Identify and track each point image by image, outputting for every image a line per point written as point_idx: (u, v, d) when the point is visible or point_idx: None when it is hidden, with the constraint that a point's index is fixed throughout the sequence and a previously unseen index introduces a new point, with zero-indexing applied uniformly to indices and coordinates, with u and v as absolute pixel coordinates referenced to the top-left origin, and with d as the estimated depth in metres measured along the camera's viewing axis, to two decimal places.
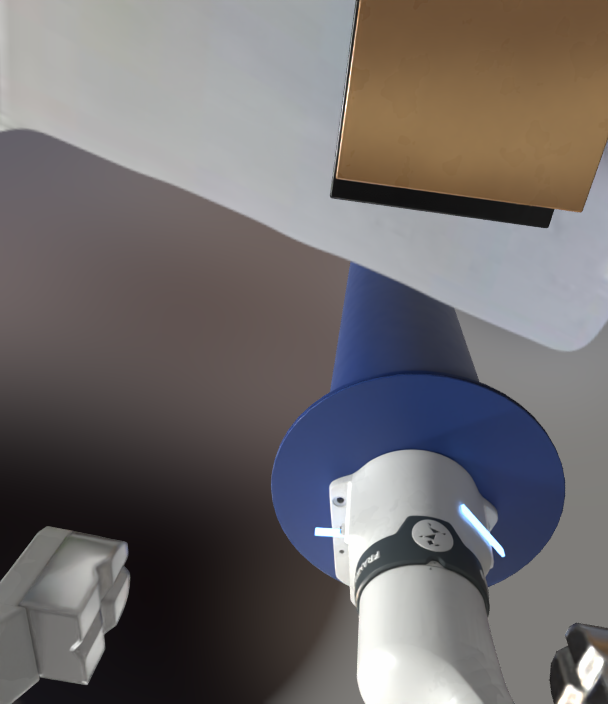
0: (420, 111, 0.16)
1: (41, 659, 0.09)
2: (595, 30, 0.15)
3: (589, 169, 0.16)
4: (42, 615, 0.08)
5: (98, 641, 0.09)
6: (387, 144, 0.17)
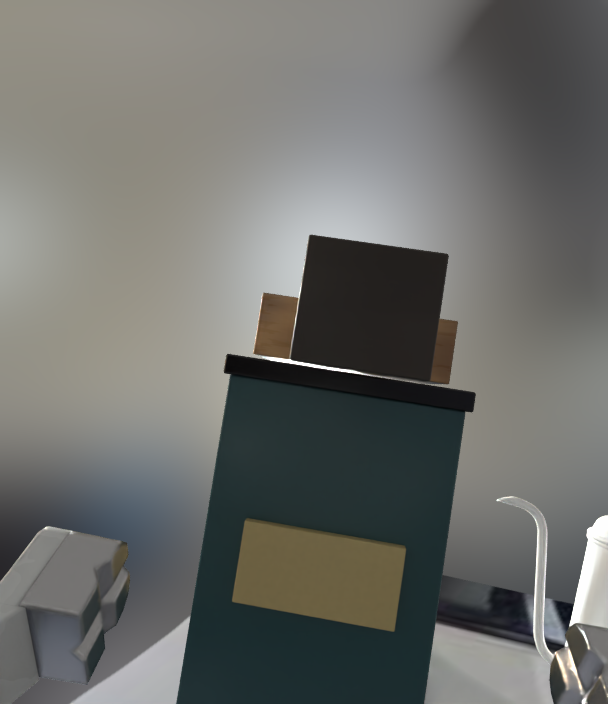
0: None
1: (41, 659, 0.09)
2: None
3: None
4: (42, 615, 0.08)
5: (98, 641, 0.09)
6: None
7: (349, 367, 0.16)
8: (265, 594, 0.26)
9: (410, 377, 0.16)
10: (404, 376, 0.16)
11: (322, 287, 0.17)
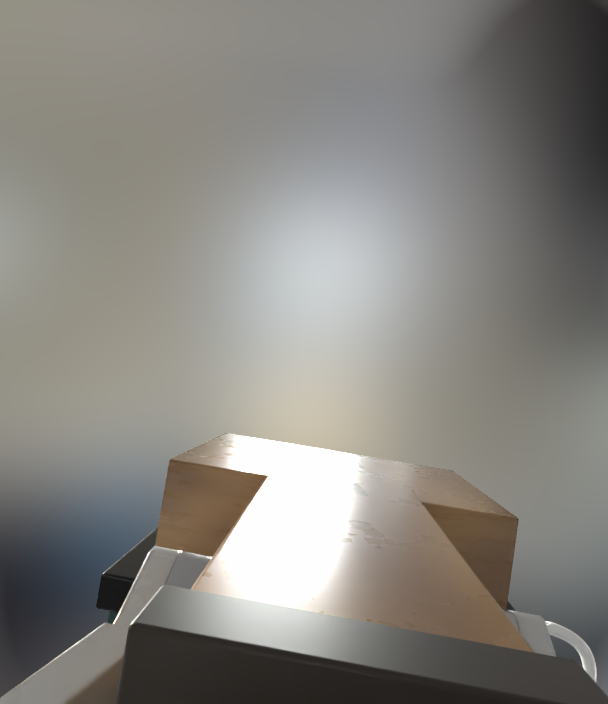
0: (270, 447, 0.21)
1: None
2: None
3: (215, 465, 0.16)
4: None
5: None
6: (247, 441, 0.22)
7: None
8: None
9: None
10: None
11: None
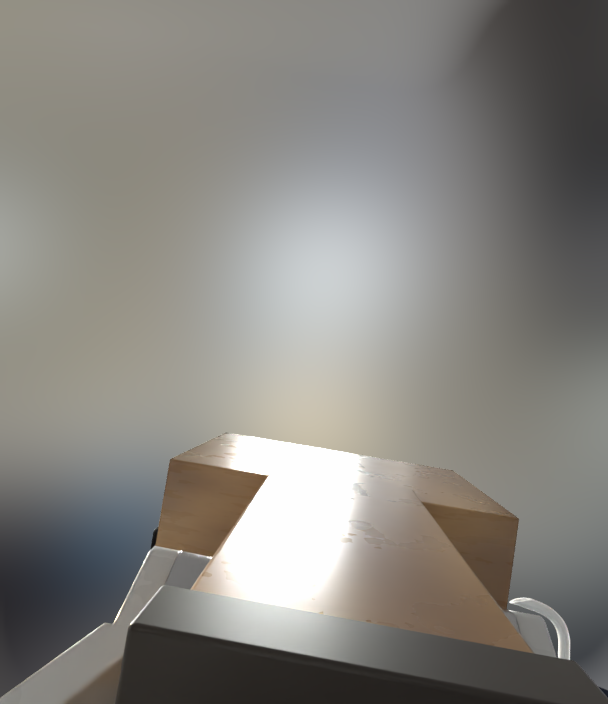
0: (270, 447, 0.21)
1: None
2: None
3: (215, 465, 0.16)
4: None
5: None
6: (247, 440, 0.22)
7: None
8: None
9: None
10: None
11: None
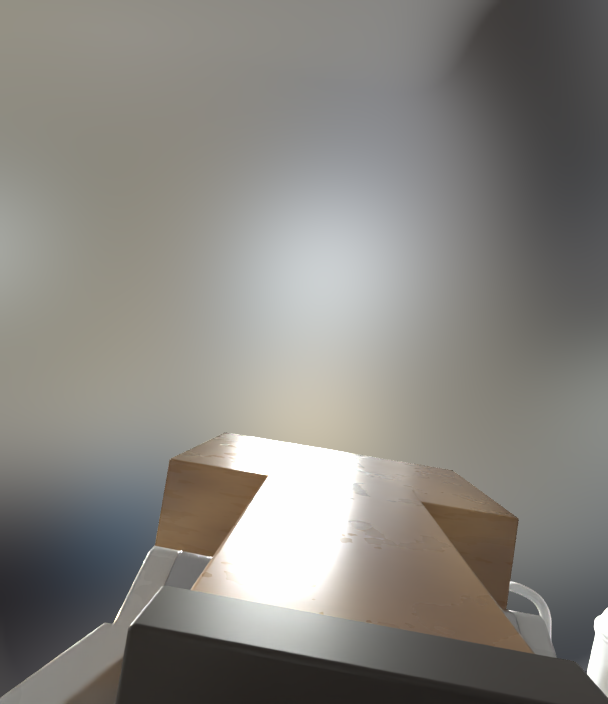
0: (270, 447, 0.21)
1: None
2: None
3: (215, 465, 0.16)
4: None
5: None
6: (247, 440, 0.22)
7: None
8: None
9: None
10: None
11: None
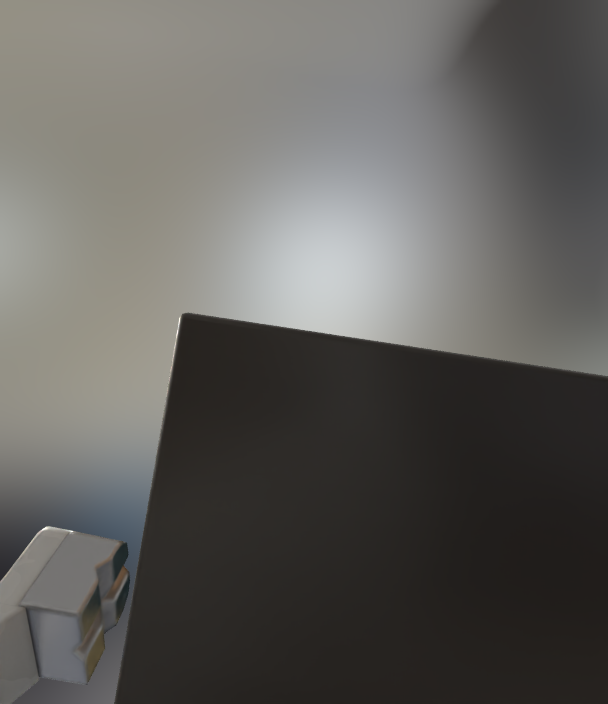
0: None
1: (41, 659, 0.09)
2: None
3: None
4: (42, 615, 0.08)
5: (99, 641, 0.09)
6: None
7: None
8: None
9: None
10: None
11: (224, 507, 0.05)
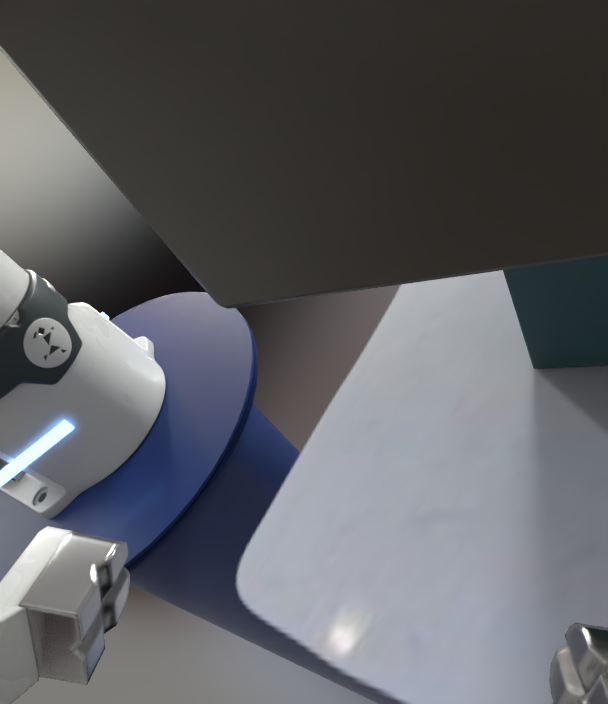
0: None
1: (41, 659, 0.09)
2: None
3: None
4: (42, 615, 0.08)
5: (98, 641, 0.09)
6: None
7: None
8: None
9: None
10: None
11: None
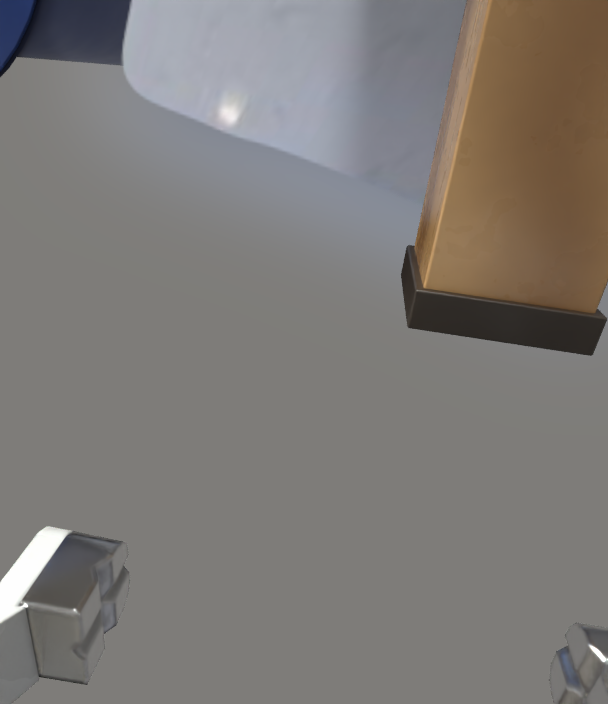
0: None
1: (41, 659, 0.09)
2: None
3: None
4: (42, 615, 0.08)
5: (99, 641, 0.09)
6: None
7: None
8: None
9: None
10: None
11: None
